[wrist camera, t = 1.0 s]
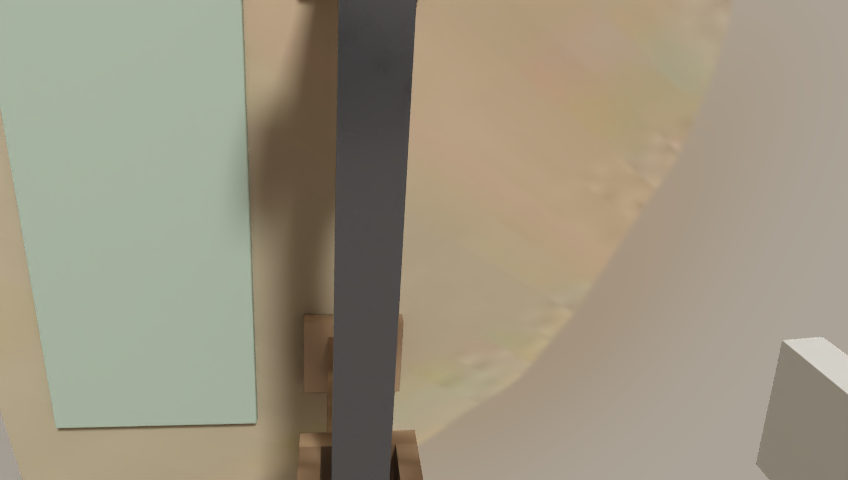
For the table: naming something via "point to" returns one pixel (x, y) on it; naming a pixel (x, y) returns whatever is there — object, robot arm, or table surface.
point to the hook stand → (320, 380)
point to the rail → (369, 228)
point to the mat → (134, 205)
